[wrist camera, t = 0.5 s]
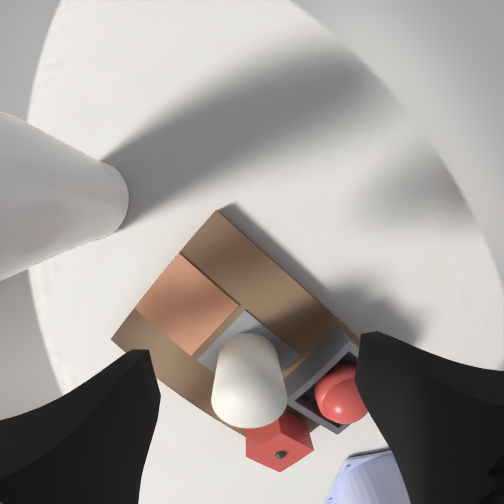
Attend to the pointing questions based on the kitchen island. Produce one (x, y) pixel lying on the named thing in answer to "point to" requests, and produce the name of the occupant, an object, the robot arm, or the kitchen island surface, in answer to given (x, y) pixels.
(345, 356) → the pop dome base
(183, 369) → the game board
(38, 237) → the drinking glass
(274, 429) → the red block with knob
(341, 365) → the pop dome
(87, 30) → the kitchen island surface
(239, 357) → the ivory pawn
